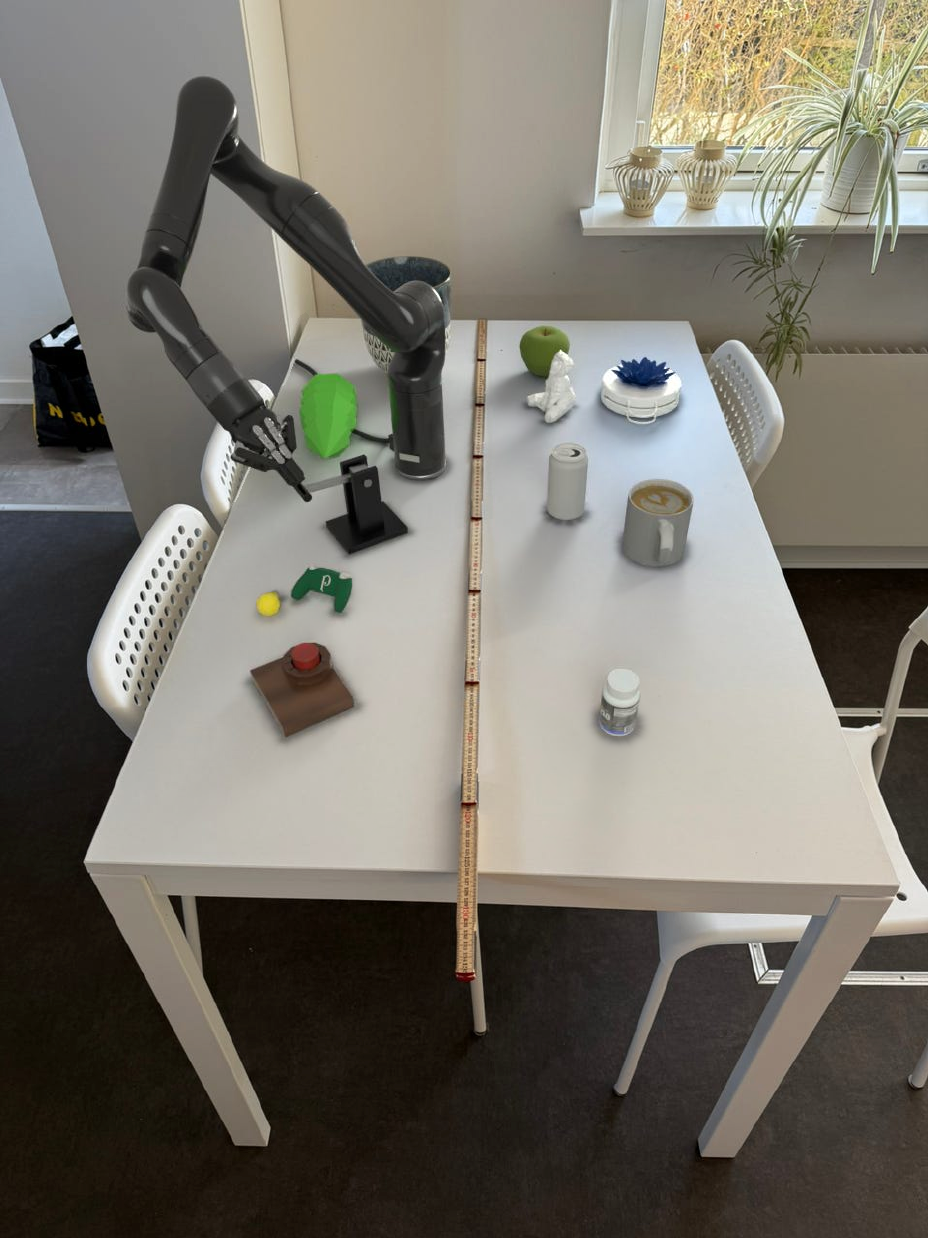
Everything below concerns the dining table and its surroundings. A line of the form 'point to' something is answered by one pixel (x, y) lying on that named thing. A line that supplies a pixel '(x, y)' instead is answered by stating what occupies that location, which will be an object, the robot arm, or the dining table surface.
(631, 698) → the pill bottle
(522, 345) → the apple
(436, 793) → the dining table surface
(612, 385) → the lotus flower trinket box
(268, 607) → the light bulb
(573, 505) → the beverage can
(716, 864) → the dining table surface
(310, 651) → the button
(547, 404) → the sitting furry creature
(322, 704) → the button block
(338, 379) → the green oblong ovoid
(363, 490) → the bracket
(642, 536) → the coffee mug
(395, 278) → the planter
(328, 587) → the gaming controller
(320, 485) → the lever
